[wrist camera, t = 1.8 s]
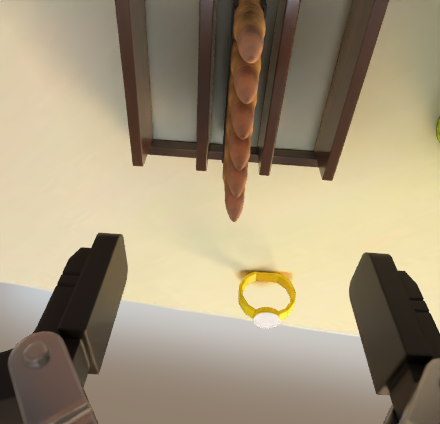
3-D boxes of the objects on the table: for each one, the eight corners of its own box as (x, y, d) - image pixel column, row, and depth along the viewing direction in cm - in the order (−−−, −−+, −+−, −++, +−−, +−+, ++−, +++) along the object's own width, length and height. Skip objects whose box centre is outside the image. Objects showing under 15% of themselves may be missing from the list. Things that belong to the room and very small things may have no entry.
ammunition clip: (246, 134, 31) (248, 234, 21) (224, 132, 30) (216, 232, 21) (263, -17, 24) (277, 36, 14) (234, -19, 24) (230, 33, 14)
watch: (293, 268, 41) (300, 314, 36) (290, 284, 43) (296, 330, 38) (239, 265, 41) (239, 311, 36) (238, 282, 43) (238, 327, 38)
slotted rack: (378, -46, 22) (401, -37, 19) (321, 160, 32) (330, 189, 29) (127, -66, 22) (108, -60, 19) (144, 146, 32) (133, 174, 29)
